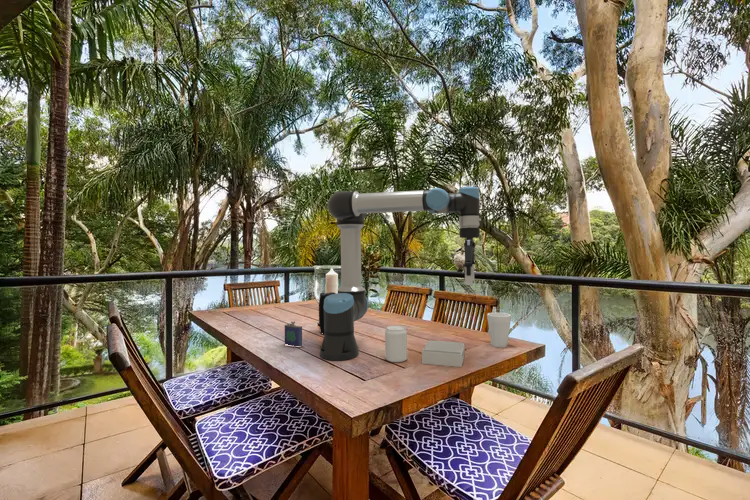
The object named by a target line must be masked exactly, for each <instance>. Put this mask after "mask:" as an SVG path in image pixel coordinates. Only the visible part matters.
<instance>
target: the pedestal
mask: <svg viewBox="0 0 750 500" xmlns="http://www.w3.org/2000/svg"><path fill="white" fill-rule="evenodd" d="M464 358H465V343H463V342H459V341H457V342H456V341H446V340H445V341H444V340H443V341H441V340H428V341H427V343H426V344H425V346H424V347H423V349H422V350H421V364H422V365H423V364H424V365H433V366H434V365H435V366H445V367H455V368H462V366H463V363H464Z"/></svg>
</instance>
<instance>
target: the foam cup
mask: <svg viewBox="0 0 750 500" xmlns="http://www.w3.org/2000/svg"><path fill="white" fill-rule="evenodd" d="M486 317H487V319H486V320H487V323H488V331H489V338H490V344H491V346H492V347H494V348H507V347H508V342H509V335H510V327H511V321H512V315H511V314H509V313H508V312H506V313H505V312H488V313H487V315H486Z"/></svg>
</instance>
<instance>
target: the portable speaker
mask: <svg viewBox="0 0 750 500" xmlns="http://www.w3.org/2000/svg"><path fill="white" fill-rule="evenodd" d="M332 294H336V292H329V293H328V292H320V293H319V302H318V323H319V324H318V325H319V330H320V334H321V333H323V334H324V308H323V306H324V299H325V298H326V297H327V296H329V295H332ZM323 334H322V335H323Z"/></svg>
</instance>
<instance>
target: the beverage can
mask: <svg viewBox="0 0 750 500" xmlns="http://www.w3.org/2000/svg"><path fill="white" fill-rule="evenodd" d="M406 328H407V327H405V326H403V325H389V326H387V327H386V329H385V331H384V334H385V335H384V337H385V338H384V341H385V342H384V344H385V345H384V347H385V348H384V349H385V353H384V357H385V360H387V361H388V362H391V363H402V362H405V361H406V360H407V359H408V332H407V329H406Z"/></svg>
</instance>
